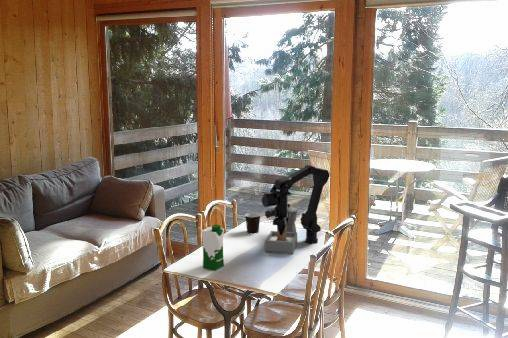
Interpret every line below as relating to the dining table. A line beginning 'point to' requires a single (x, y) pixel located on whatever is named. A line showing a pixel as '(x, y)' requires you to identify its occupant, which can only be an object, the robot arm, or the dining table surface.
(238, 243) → the dining table surface
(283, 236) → the peg
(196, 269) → the dining table surface
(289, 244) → the bore box
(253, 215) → the coffee mug
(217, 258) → the milk carton
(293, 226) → the coffeepot
